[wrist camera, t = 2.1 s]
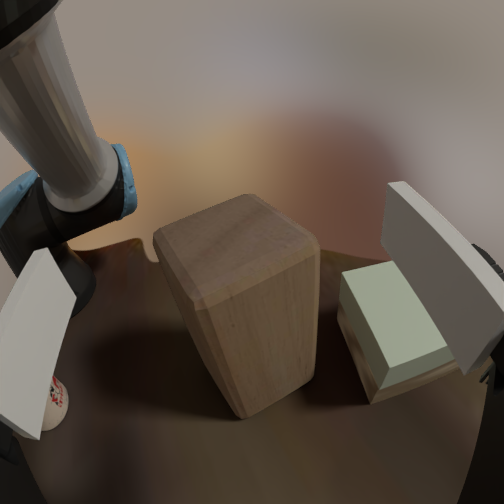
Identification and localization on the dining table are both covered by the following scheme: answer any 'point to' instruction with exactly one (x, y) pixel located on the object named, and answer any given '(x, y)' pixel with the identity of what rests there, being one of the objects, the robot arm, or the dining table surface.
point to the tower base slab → (367, 375)
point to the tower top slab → (391, 324)
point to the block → (246, 297)
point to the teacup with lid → (55, 405)
